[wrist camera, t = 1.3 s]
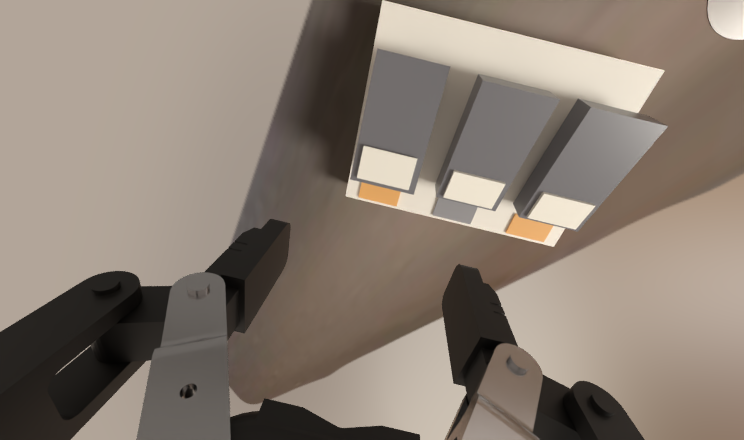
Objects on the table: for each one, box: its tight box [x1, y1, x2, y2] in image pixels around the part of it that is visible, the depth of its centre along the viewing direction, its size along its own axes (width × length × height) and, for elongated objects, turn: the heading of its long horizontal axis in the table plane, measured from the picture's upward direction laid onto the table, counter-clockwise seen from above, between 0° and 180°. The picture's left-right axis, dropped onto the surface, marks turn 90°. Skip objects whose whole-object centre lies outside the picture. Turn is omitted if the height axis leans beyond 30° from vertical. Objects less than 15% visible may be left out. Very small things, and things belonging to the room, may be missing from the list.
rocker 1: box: [350, 48, 450, 195], centre depth 22 cm, size 9×5×2 cm, turn 167°
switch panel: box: [346, 0, 665, 247], centre depth 25 cm, size 15×20×4 cm
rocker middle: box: [435, 74, 560, 211], centre depth 22 cm, size 9×5×2 cm, turn 168°
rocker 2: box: [513, 98, 668, 231], centre depth 22 cm, size 9×5×2 cm, turn 168°
